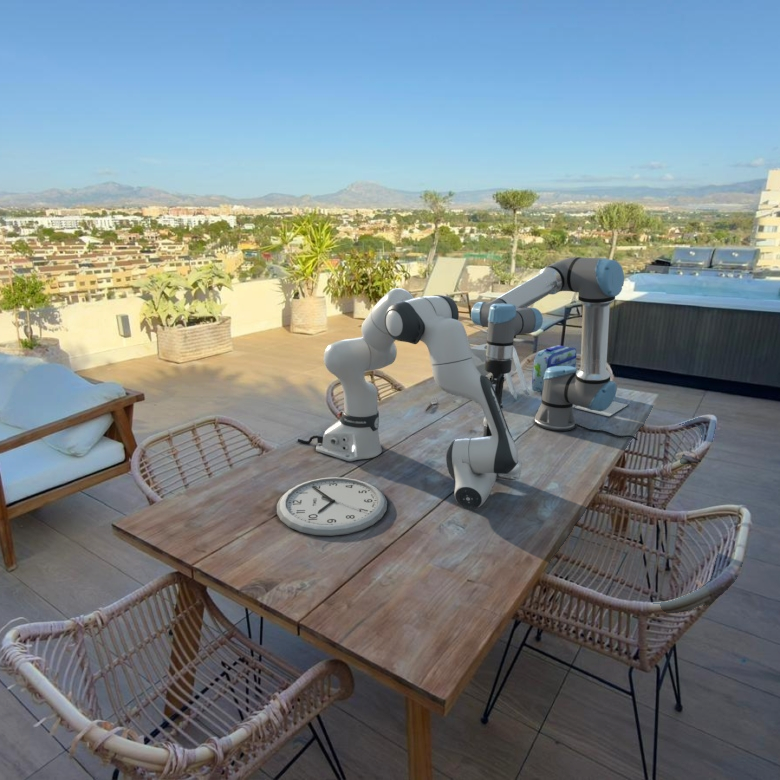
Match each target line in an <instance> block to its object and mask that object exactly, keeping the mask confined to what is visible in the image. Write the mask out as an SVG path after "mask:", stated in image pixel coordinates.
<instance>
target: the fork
mask: <svg viewBox="0 0 780 780" xmlns="http://www.w3.org/2000/svg"><path fill="white" fill-rule="evenodd" d="M438 401H439V398H438V397H435V396H433V398H432V399H431V401H430V404H429V405H428V406H427V408H426V409H425V412H427V411H428V410H429V409H431V408H432V406H433V405H437V404H438Z"/></svg>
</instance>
